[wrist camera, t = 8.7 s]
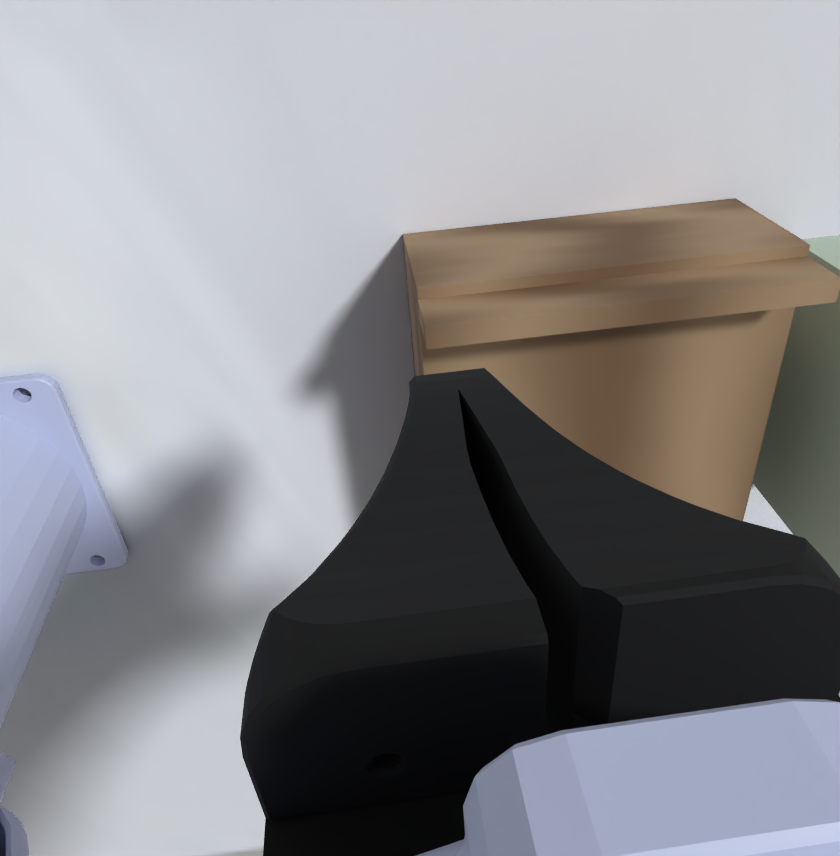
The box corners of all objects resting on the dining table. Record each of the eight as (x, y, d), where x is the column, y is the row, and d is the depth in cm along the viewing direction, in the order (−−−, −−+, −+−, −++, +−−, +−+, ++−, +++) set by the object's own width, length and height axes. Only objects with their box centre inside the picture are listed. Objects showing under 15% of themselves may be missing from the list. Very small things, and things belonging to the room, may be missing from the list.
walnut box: (429, 537, 28) (449, 653, 23) (402, 234, 21) (424, 314, 16) (681, 504, 28) (749, 612, 24) (735, 198, 21) (845, 267, 17)
